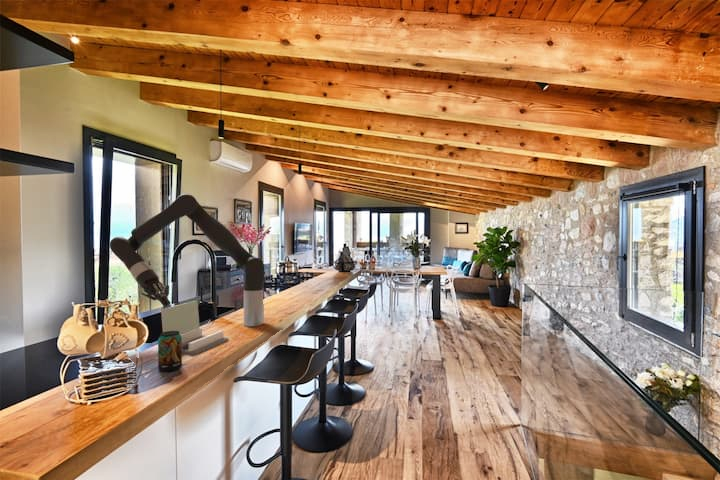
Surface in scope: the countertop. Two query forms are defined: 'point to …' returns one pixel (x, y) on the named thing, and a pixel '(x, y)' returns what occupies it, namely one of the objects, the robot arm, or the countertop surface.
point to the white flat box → (200, 341)
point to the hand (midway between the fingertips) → (168, 305)
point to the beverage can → (169, 351)
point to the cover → (181, 318)
